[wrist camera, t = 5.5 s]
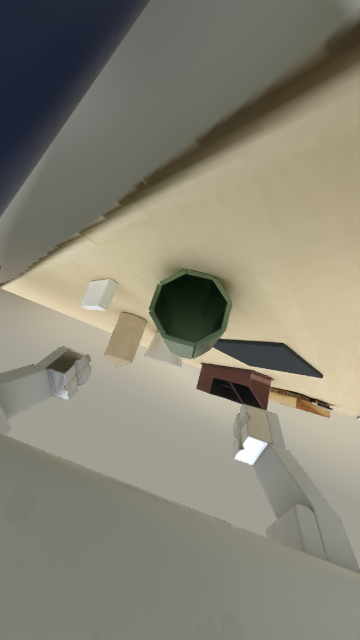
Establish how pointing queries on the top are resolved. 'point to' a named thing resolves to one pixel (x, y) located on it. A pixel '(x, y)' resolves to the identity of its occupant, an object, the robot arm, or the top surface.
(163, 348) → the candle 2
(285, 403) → the wooden box
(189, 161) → the top surface
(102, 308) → the eraser
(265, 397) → the desk organizer
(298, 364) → the mat
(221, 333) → the bucket
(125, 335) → the candle
